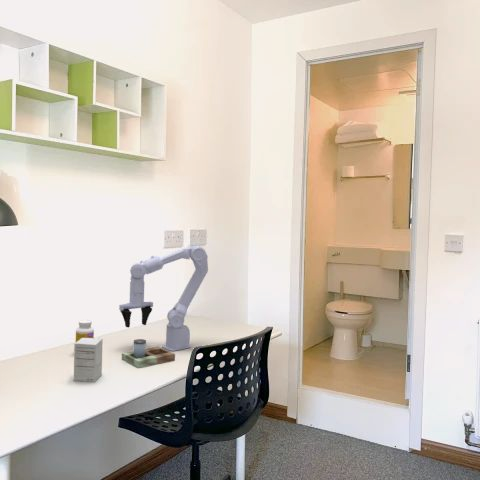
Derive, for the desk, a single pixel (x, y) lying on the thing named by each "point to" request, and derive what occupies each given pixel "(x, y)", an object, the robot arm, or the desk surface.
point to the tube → (139, 348)
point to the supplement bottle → (84, 330)
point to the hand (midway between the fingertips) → (135, 325)
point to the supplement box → (88, 359)
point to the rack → (149, 357)
